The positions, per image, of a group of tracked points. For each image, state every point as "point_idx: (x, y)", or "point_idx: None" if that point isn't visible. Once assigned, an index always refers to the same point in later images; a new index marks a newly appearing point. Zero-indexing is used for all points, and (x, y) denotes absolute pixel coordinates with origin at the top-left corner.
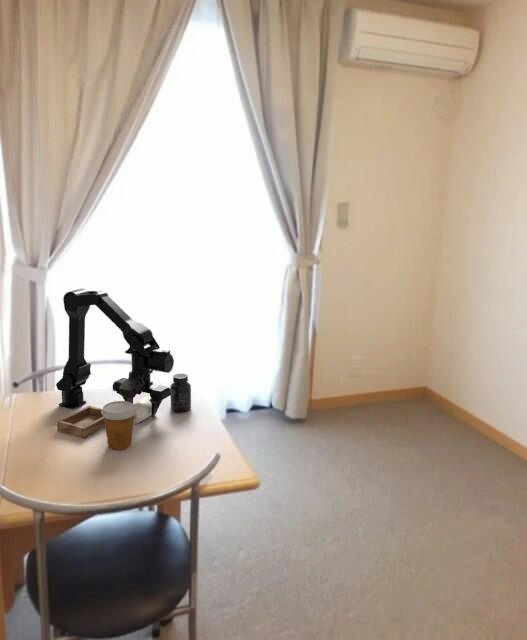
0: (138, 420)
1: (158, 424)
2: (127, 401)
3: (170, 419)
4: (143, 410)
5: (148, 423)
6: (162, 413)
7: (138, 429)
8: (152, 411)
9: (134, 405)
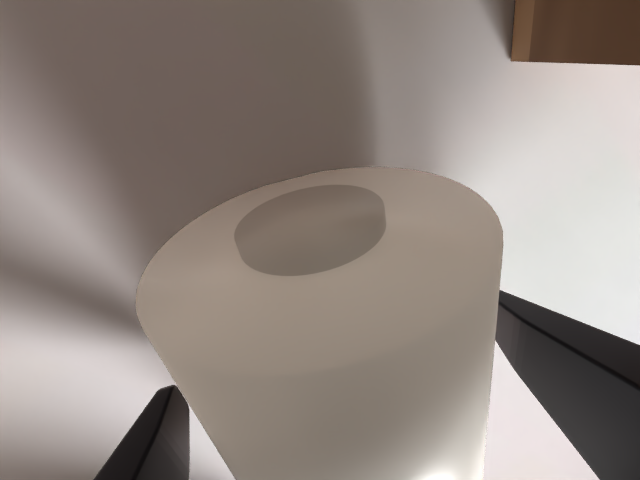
0: (209, 224)
1: (64, 348)
2: (631, 383)
3: None
4: (190, 403)
5: None
6: None
7: (64, 98)
8: (122, 465)
9: (354, 397)
